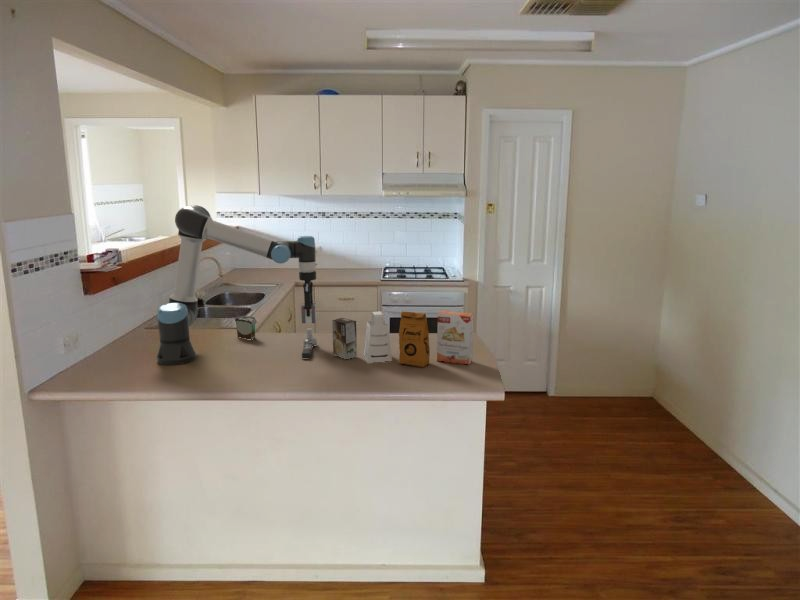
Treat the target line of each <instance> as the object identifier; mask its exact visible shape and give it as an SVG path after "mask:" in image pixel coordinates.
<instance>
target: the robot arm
mask: <svg viewBox="0 0 800 600" xmlns="http://www.w3.org/2000/svg"><path fill="white" fill-rule="evenodd" d="M174 222H175V226H176V228H177V229H178V232H177V235H178V237H179V238H180V246H179V254H178V262H177V270H176V275H175V276H176V277H175V283H174V292H173V293H172V294H170V295H169V301H168V303H165V304H163V305H160V306H159V307H158V309H157V313H156V314H157V315H156V318H157V325H158V336H159V348H158V351H157V356H156V362H157V364H160V365H161V366H163V365H164V366H177V365H183V364H188V363H191V362H193V361H195V359H196V357H197V356H196V351H195V349H194V347H193V345H192V341H191V340H190V339H191V338H190V326H191V325H192V324H193V323H195V321H196V320H197V317H198V314H199V308H198V300H199V299H198V298H197V296H196V289H197V283H198V275H199V270H200V269H199V268H200V261H201V255H202V254H201V253H202V247H203V243H204V242H205V241H207V239H209V240H213V241H216V242H218V243H222V244H224V245H228V246H231V247H234V248H237V249H239V250H242V251H245V252H249V253H251V254H255V255H258V256H260V257H264V258H266V259H270V260H272V261H273V262H274V263H277V264H279V265H280V264H281V265H282V264H285V263H287V262H288V261H289V260H290V259H297V260H298V271H299V272H298V277H299V278H298V280H299V281H304V283H303V285H302V287H303V299H304V302H303V303H305V307H304V308H303V309H305V318H306V323H305V324H313V323H312V312H311V303H314V301H313V300H314V299H313V297H314V296H313V290H314V289H313V287H314V283H313V281H316V280H317V271H316V269H317V266H318V263H317V262H316V261H317V259H316V257H317V256H316V242H315V237H314V236H312V235H311V236H310V235H298V237H297V239H296V240H293V241H292V240H288V241H287V240H285V241H283V240H277V241H274V240H271V239H268V238H265V237H262V236H260V235H257V234H254V233H251V232H248V231H245V230H242V229H239V228H236V227H233V226H230V225H227V224H226V223H225V224H224V223H221V222H218V221H217V220H214V219H213V218H212V216H211V213H210V212H209V210H207V209H206V208H205V207H204V206H201V205H196V204H192V205H189V206H184V207H181V208H180V209H179V210H178V211H177V213H176V214H175V217H174Z"/></svg>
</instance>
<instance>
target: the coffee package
mask: <svg viewBox="0 0 800 600" xmlns="http://www.w3.org/2000/svg"><path fill="white" fill-rule="evenodd" d="M400 316H401V317H400V322H399V330H398V337H399V338H398V345H399V346H398V348H399V357H398V358H399V360H398V363H399V364H403V365H408V366H412V367H421V368H425V367H426V366H428V365H429V364H430V353H431V352H430V337H429V335H430V334H429V333H430V331H429V328H428V319H427V315H426V313H424V312H423V313H422V312H413V311H401V313H400ZM427 364H428V365H427Z"/></svg>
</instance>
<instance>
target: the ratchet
mask: <svg viewBox="0 0 800 600" xmlns="http://www.w3.org/2000/svg"><path fill="white" fill-rule="evenodd" d="M302 342H303V346H304V345H305V347H304V348H302V349H303V350H302V352H301V359H302V358H310V359H311V357H310V355H311V356H312V351H311V349H312V350H313V348H312V346H314V345H316V344H317V345H318V343H317V342H318V340H317V338H315V337H313V328H309V327H308V328H307V329H306V338H304V339H303V341H302Z"/></svg>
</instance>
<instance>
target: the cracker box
mask: <svg viewBox="0 0 800 600" xmlns="http://www.w3.org/2000/svg"><path fill="white" fill-rule="evenodd" d="M436 332H437V333H436V334H437V336H436V337H437V339H436V343H437V344H436V362H441V361H444V362H443V363H449V362H452V364H456V363H460V364H459V365H464V364H468V365H467V366H470V364H471V363H472V362H473V347H474V345H473V344H474V313H470V312H469V313H468V312H461V311H460V312H459V311H449V310H441V311H439V312H438V313H437V331H436ZM471 361H472V362H471Z"/></svg>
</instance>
